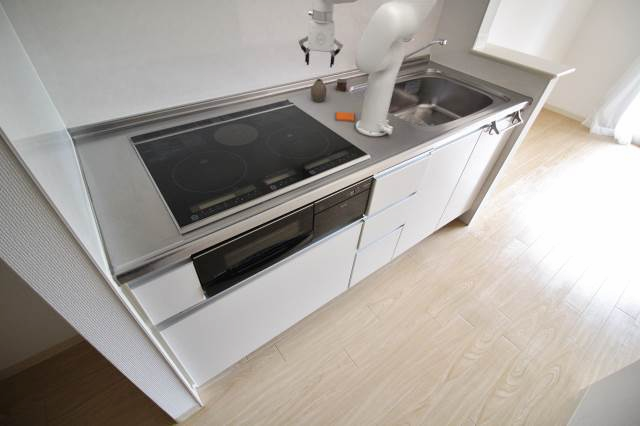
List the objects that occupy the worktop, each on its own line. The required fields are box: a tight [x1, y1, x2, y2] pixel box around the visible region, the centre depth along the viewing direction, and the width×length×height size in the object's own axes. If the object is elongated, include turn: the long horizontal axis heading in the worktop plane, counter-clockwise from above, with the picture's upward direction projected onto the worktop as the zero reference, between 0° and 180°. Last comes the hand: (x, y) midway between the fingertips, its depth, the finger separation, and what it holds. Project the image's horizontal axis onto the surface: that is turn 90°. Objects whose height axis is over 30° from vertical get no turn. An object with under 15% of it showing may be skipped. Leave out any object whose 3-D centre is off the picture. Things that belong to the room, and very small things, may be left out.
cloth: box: [335, 111, 355, 122], centre depth 117 cm, size 7×6×1 cm
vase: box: [310, 78, 327, 103], centre depth 125 cm, size 7×7×9 cm
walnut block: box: [336, 78, 348, 92], centre depth 137 cm, size 4×4×4 cm
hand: (319, 65), depth 118 cm, fingers open, 9 cm apart
